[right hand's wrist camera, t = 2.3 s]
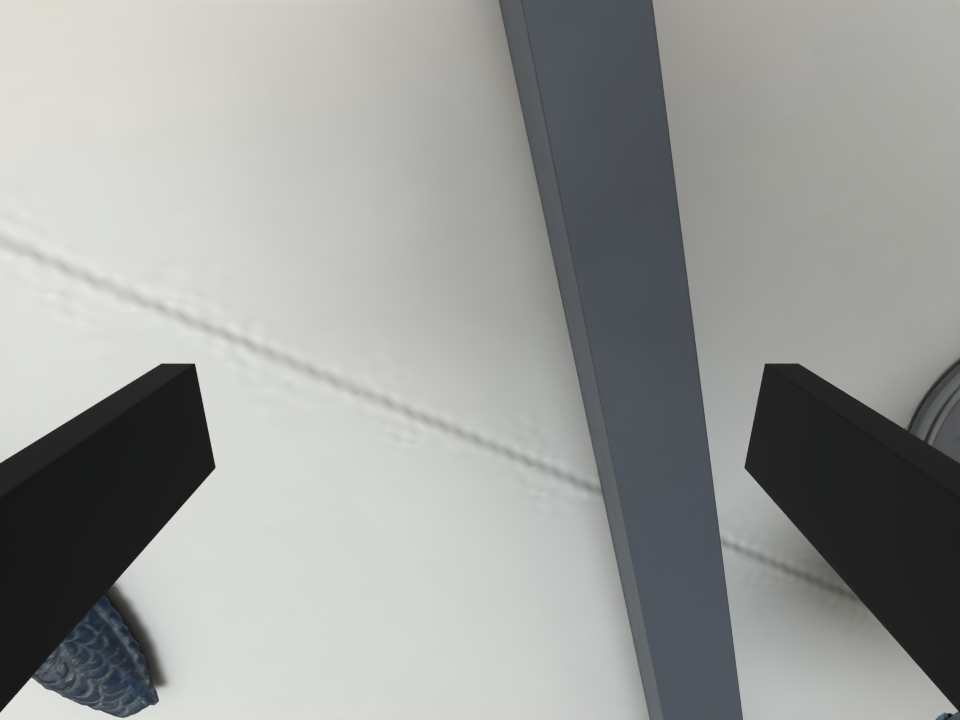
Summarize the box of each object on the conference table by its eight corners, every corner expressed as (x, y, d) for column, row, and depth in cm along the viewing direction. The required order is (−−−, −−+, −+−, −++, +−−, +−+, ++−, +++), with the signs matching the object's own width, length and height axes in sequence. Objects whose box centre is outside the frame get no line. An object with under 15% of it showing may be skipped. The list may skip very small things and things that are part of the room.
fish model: (11, 461, 34) (-65, 509, 29) (193, 678, 41) (155, 746, 36) (-69, 494, 35) (-154, 546, 30) (122, 701, 42) (76, 769, 37)
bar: (472, -124, 24) (467, -268, 16) (569, -156, 24) (612, -319, 16) (685, 890, 50) (723, 1025, 42) (733, 883, 50) (781, 1018, 42)
